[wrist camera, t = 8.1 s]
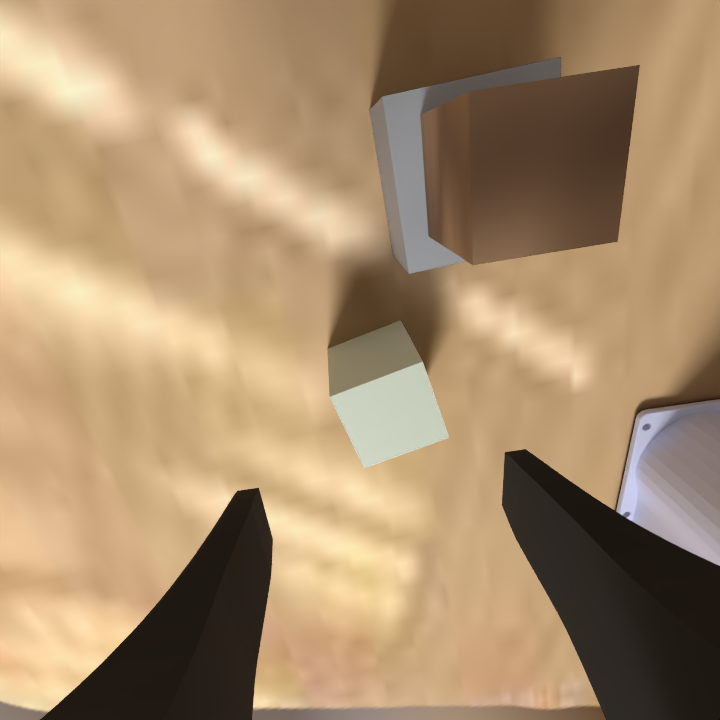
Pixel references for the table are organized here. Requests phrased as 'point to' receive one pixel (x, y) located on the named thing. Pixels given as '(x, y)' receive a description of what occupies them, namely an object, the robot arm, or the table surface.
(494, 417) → the table surface
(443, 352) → the table surface
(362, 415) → the sage block
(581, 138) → the walnut block
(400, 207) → the grey base block
